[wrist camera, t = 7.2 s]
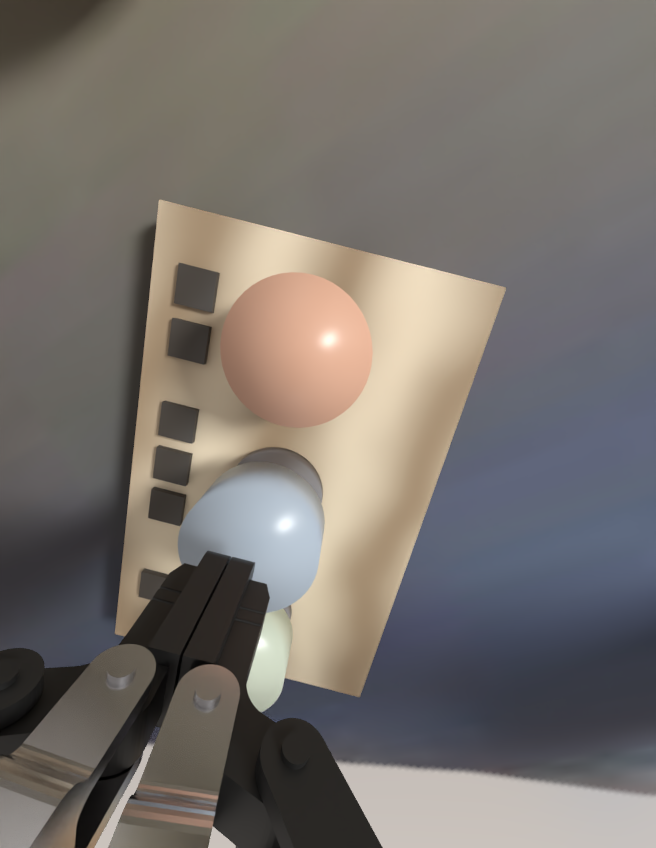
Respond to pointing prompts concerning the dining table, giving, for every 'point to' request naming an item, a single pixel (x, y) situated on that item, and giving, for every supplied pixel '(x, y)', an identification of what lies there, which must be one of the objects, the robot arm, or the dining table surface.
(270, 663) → the pale green button
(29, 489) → the dining table surface
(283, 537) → the three dot button
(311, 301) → the two dot button
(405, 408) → the button board
